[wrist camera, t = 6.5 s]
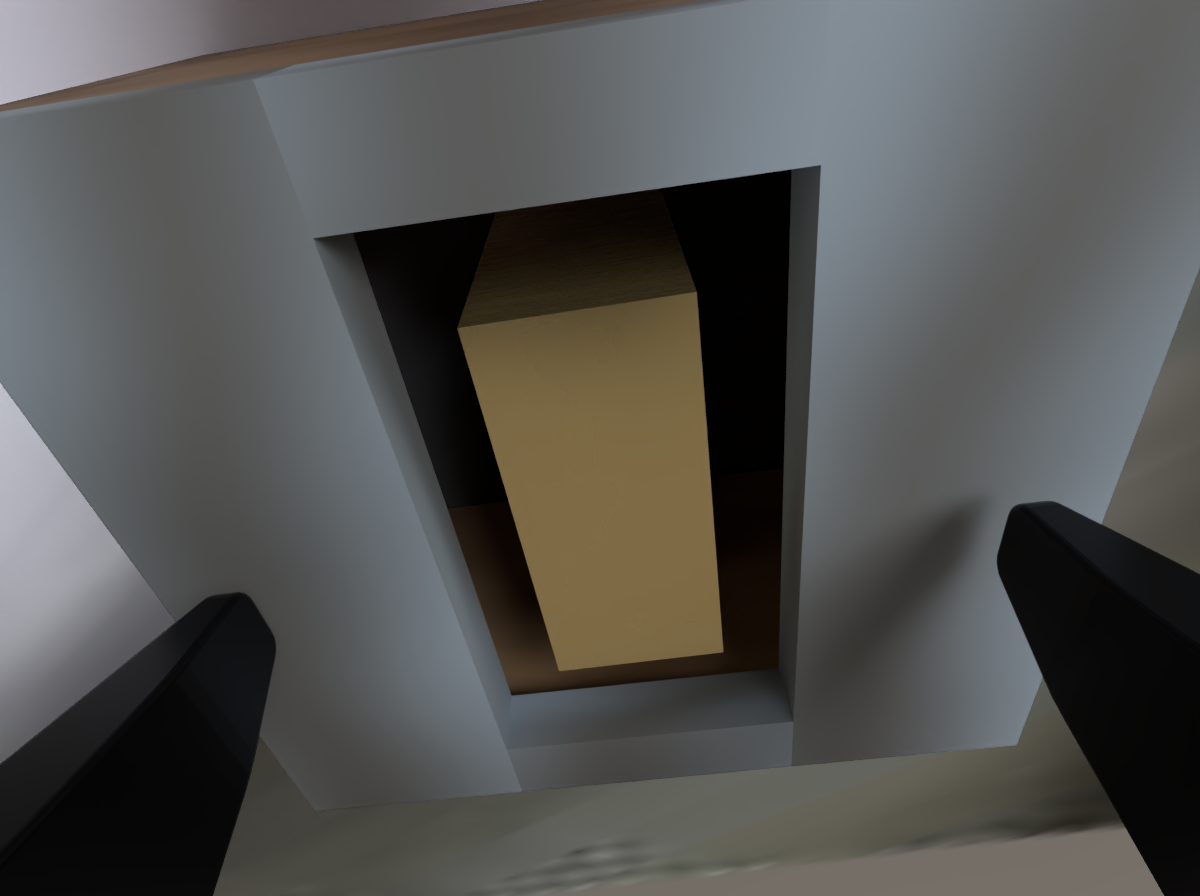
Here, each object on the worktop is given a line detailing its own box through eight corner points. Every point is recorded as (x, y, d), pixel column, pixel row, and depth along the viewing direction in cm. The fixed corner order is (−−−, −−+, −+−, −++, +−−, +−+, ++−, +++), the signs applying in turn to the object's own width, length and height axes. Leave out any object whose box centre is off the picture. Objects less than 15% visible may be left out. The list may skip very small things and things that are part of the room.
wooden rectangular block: (647, 152, 13) (696, 291, 7) (675, 423, 16) (723, 652, 11) (508, 175, 13) (456, 327, 7) (566, 439, 16) (558, 671, 11)
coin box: (935, -64, 11) (1336, -92, 5) (870, 483, 17) (1016, 744, 11) (202, 55, 11) (-173, 147, 6) (400, 538, 18) (315, 810, 12)
